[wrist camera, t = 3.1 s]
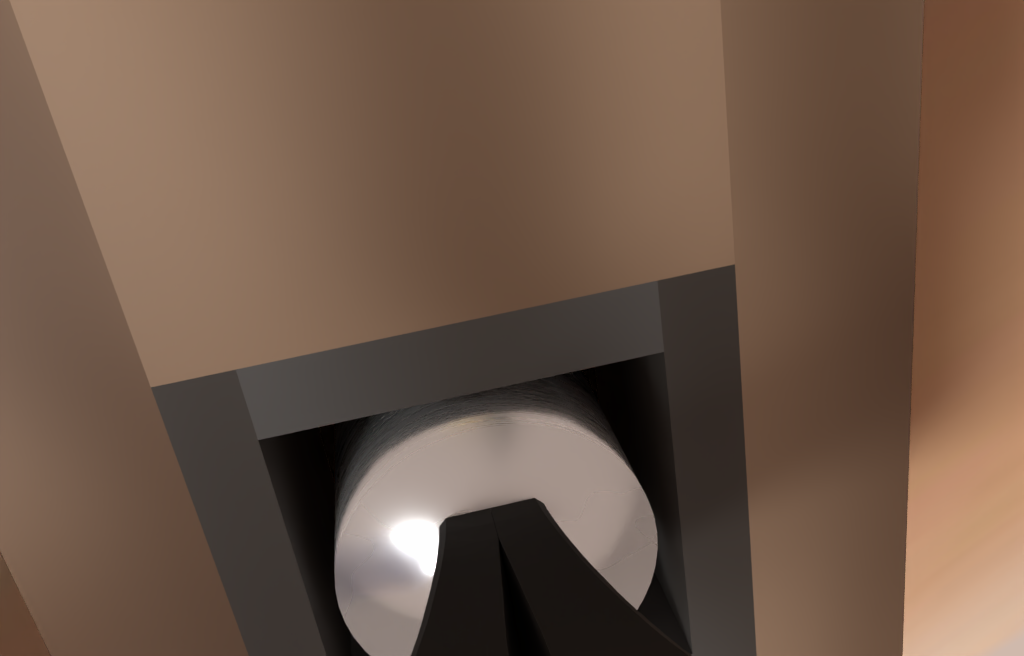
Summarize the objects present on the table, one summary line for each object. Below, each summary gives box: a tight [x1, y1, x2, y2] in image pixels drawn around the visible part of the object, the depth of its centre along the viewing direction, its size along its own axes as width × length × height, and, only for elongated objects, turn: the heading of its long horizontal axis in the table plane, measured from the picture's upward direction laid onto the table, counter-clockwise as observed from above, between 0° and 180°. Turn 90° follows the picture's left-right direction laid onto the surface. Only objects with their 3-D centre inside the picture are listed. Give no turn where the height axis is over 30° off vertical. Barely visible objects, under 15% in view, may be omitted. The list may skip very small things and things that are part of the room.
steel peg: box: [334, 370, 658, 656], centre depth 15 cm, size 4×4×5 cm
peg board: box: [0, 0, 924, 656], centre depth 13 cm, size 12×22×5 cm, turn 9°
